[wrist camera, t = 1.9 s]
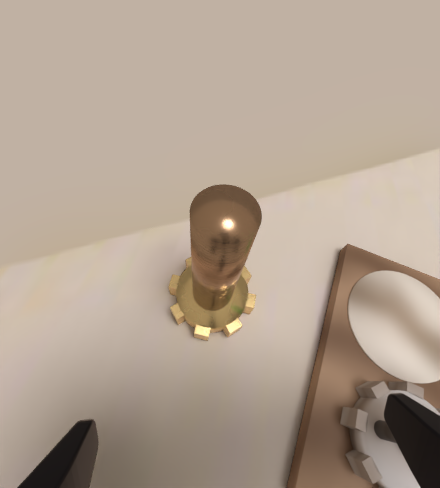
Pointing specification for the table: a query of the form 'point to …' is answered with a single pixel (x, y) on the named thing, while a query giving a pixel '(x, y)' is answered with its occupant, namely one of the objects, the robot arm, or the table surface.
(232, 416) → the table surface
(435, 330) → the gear board
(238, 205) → the brass gear
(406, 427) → the robot arm
